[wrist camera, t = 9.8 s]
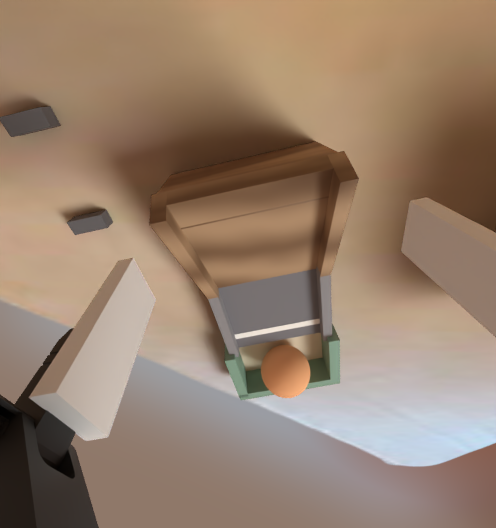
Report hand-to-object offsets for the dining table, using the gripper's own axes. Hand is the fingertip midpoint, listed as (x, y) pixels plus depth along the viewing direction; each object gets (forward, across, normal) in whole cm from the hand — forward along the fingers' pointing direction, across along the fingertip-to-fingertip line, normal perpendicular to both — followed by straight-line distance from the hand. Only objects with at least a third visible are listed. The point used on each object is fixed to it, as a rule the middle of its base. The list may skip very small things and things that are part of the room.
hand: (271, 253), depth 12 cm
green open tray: (+11, 0, -22) cm, 25 cm away
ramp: (+11, 0, -4) cm, 12 cm away
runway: (+11, 0, -14) cm, 17 cm away
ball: (+8, 0, -22) cm, 23 cm away
